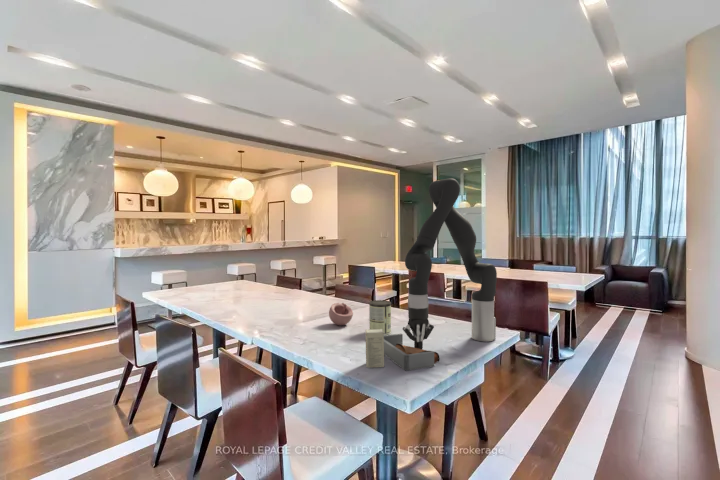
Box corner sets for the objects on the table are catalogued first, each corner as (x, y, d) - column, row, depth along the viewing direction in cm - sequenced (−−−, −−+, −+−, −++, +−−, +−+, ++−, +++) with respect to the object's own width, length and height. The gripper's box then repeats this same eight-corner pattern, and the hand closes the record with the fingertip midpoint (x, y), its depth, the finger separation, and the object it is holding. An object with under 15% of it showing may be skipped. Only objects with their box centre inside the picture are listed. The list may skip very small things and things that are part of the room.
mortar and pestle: (339, 329, 169) (339, 305, 169) (324, 324, 178) (324, 302, 178) (357, 325, 177) (357, 302, 177) (342, 320, 186) (342, 299, 186)
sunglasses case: (385, 357, 131) (390, 339, 134) (393, 361, 136) (397, 344, 139) (430, 367, 121) (434, 348, 124) (437, 372, 126) (441, 354, 129)
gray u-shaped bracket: (401, 345, 145) (401, 333, 145) (434, 366, 122) (434, 352, 122) (376, 348, 141) (376, 336, 141) (405, 370, 118) (405, 356, 118)
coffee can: (369, 329, 170) (369, 299, 170) (391, 329, 169) (391, 300, 169) (368, 335, 160) (368, 304, 160) (391, 335, 159) (391, 304, 159)
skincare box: (383, 363, 125) (383, 328, 125) (384, 367, 121) (384, 332, 121) (365, 363, 125) (365, 328, 125) (365, 367, 121) (365, 332, 121)
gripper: (427, 302, 140) (428, 345, 140) (398, 305, 135) (398, 349, 136) (438, 305, 133) (438, 351, 133) (407, 309, 128) (407, 356, 129)
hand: (418, 350), depth 135 cm, fingers closed
